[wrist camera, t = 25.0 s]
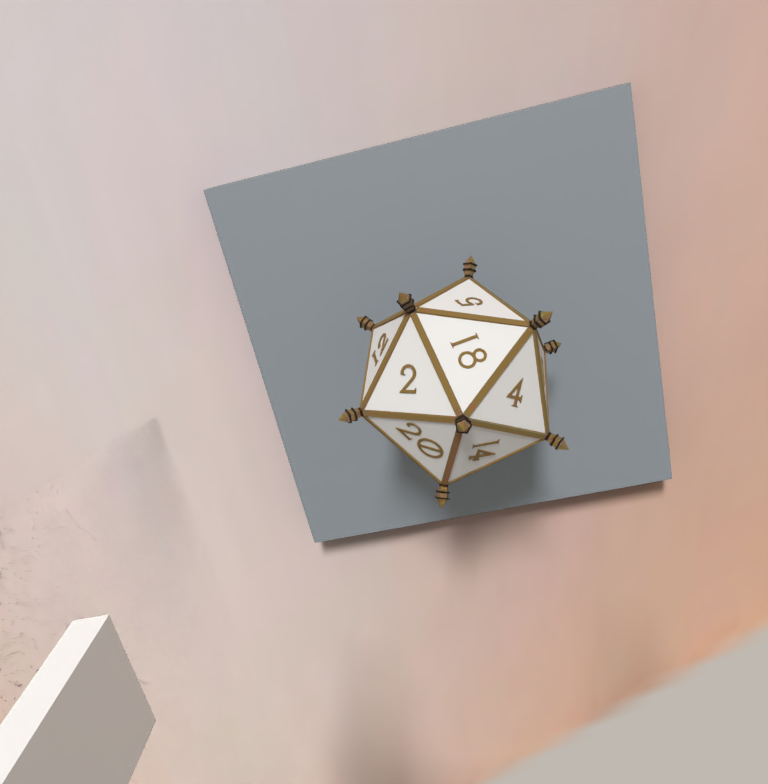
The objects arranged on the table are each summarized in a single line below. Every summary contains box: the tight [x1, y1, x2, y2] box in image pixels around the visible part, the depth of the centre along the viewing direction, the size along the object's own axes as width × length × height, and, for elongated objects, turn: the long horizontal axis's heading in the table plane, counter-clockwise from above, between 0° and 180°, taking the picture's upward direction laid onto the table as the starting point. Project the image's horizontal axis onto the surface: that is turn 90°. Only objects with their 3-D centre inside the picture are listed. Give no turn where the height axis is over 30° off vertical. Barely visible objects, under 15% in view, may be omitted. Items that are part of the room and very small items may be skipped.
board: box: [204, 83, 672, 543], centre depth 32 cm, size 18×18×2 cm
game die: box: [339, 256, 569, 508], centre depth 27 cm, size 9×8×10 cm
